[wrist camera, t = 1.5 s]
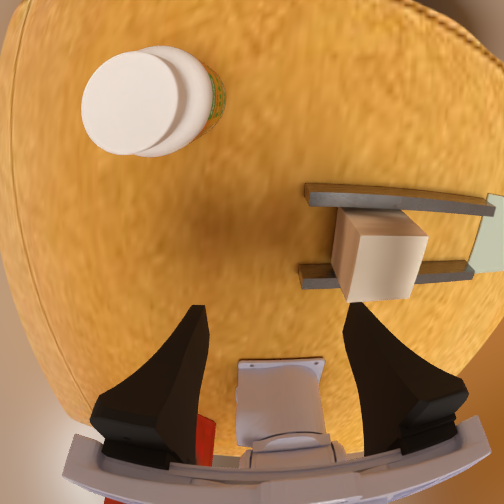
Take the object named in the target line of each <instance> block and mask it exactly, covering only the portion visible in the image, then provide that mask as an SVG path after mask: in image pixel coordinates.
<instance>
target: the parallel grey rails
mask: <svg viewBox="0 0 504 504" xmlns="http://www.w3.org/2000/svg"><path fill="white" fill-rule="evenodd" d="M304 197H305V199H306V201H307V203H308V205H309V206H319V207H357V208H381V209H401V210H417V211H432V212H445V213H457V214H468V215H478V216H488V217H494V214H495V210H496V207H495V206H494V205H492V204H491V203H489V202H488V201H486V200H485V199H483V198H476V197H470V196H463V195H456V194H448V193H440V192H431V191H422V190H412V189H402V188H390V187H377V186H362V185H343V184H318V183H305V195H304ZM474 273H475V270H474V269H473V268H472V267H471V266H470V265H469V264H468V263H467V262H466V261H465V260H462V261H433V262H421V265H420V268H419V271H418V274H417V277H416V280H415V283H414V284H424V283H438V282H450V281H461V280H472V278H473V276H474ZM299 279H300V284H301V288H302V289H330V288H341V287H340V284H339V282H338V279H337V277H336V274H335V272H334V269H333V267H332V264H299Z"/></svg>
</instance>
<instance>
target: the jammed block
mask: <svg viewBox="0 0 504 504" xmlns="http://www.w3.org/2000/svg"><path fill="white" fill-rule="evenodd" d="M428 238H429V236H428V235H427V234H426V233H425V232H424V231H423V230H422V229H421V228H420V227H419V226H418V225H417V224H415V223H414V222H413V221H412V220H411V219H410V218H409V217H408V216H407V215H406V214H405V213H404V212H403V211H401V210H400V209H381V208H357V207H338V212H337V220H336V228H335V236H334V243H333V251H332V257H331V264H332V267H333V269H334V272H335V274H336V277H337V279H338V282H339V284H340V287H341V289H342V292H343V294H344V297H345V300H346V302H347V303H350V302H367V301H381V300H394V299H406V298H409V297H410V294H411V292H412V289H413V286H414V283H415V280H416V277H417V274H418V271H419V268H420V265H421V262H422V259H423V255H424V252H425V248H426V245H427V241H428Z"/></svg>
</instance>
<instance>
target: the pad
mask: <svg viewBox="0 0 504 504" xmlns="http://www.w3.org/2000/svg"><path fill="white" fill-rule="evenodd" d="M486 201H488V202H489V203H491V204H492V205H494V206H495V207H496V210H495V214H494V217H488V216H482V219H481V222H480V226H479V229H478V233H477V236H476V239H475V242H474V245H473V248H472V251H471V254H470V257H469V260H468V262H467V263H468V264H469V265H470V266H471V267H472V268H473V269H474V270H475V273H485V272H497V271H504V196H499V195H494V194H489V193H488V195H487V199H486Z"/></svg>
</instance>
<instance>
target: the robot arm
mask: <svg viewBox="0 0 504 504" xmlns="http://www.w3.org/2000/svg"><path fill="white" fill-rule="evenodd" d="M209 336H210V334H209V328H208V322H207V316H206V309H205V305H192V306H191V307H190V308H189V310H188V312H187V313H186V315H185V316H184V318H183V319H182V321H181V322H180V323H179V325H178V326H177V328H176V329H175V330H174V332H173V333H172V334H171V336H170V337H169V338H168V339H167V341H166V342H165V343H164V344H163V345H162V347H161V348H160V349H159V350H158V351H157V352H156V353H155V354H154V355H153V356H152V357H151V358H150V359H149V360H148V361H147V362H146V363H145V364H144V365H143V366H142V367H141V368H139V369H138V370H137V371H136V372H135V373H133V374H132V375H131V376H129V377H128V378H127V379H125V380H124V381H123V382H121V383H120V384H118V385H117V386H115V387H113V388H112V389H110V390H108V391H106V392H105V393H103V394H101V395H99V397H98V399H97V401H96V403H95V406H94V408H93V411H92V414H91V417H90V423H91V424H92V426H93V427H94V428H95V429H96V430H97V431H98V432H99V433H100V434H101V435H102V436H103V437H104V438H105V441H104V444H102V443H100V442H98V441H96V440H94V439H91V438H88V437H85V436H82V435H79V434H75V435H74V438H73V441H72V444H71V447H70V450H69V453H68V456H67V460H66V463H65V467H64V471H63V474H62V476H63V478H65V479H67V480H69V481H70V482H72V483H74V484H76V485H78V486H80V487H82V488H84V489H86V490H88V491H90V492H93V493H96V494H99V495H102V496H104V497H107V498H110V499H113V500H116V501H119V502H123V503H126V504H388V502H391V501H394V500H397V499H400V498H403V497H406V496H408V495H411V494H414V493H417V492H419V491H421V490H424V489H426V488H429V487H431V486H433V485H436V484H438V483H440V482H442V481H445V480H446V479H449V478H451V477H453V476H455V475H457V474H459V473H461V472H463V471H464V470H466V469H468V468H469V467H471V466H473V465H474V464H476V463H477V462H479V461H480V460H482V459H483V458H485V457H486V456H487V455H489V454H490V453H491V449H490V446H489V443H488V440H487V438H486V435H485V432H484V430H483V427H482V425H481V422H480V420H479V417H478V415H476V416H473V417H471V418H469V419H467V420H464V421H462V422H461V423H459V424H458V425H456V426H455V423H454V420H455V419H456V416H455V412H456V411H457V410H458V409H459V407H461V405H462V404H463V403H464V402H465V401H466V399H467V397H468V395H469V393H468V390H467V388H466V386H465V384H464V382H463V380H462V379H461V378H458V377H456V376H454V375H451V374H449V373H447V372H445V371H443V370H441V369H439V368H437V367H435V366H434V365H432V364H430V363H429V362H427V361H426V360H424V359H423V358H421V357H420V356H418V355H417V354H415V353H414V352H413V351H412V350H410V349H409V348H408V347H406V346H405V345H404V344H403V343H402V342H401V341H400V340H398V339H397V338H396V337H395V336H394V335H393V334H392V333H391V332H390V331H389V330H388V329H387V328H386V327H385V326H384V325H383V324H382V323H381V322H380V321H379V320H378V319H377V318H376V317H375V316H374V315H373V313H372V312H371V311H370V310H369V309H368V308H367V307H366V306H365V305H364V304H363V303H362V302H351V303H350V306H349V310H348V313H347V317H346V321H345V324H344V328H343V338H344V343H345V349H346V352H347V356H348V359H349V362H350V365H351V368H352V372H353V375H354V378H355V381H356V385H357V389H358V393H359V399H360V405H361V413H362V421H363V433H364V457H362V458H356V459H351V460H347V457H346V453H345V450H344V447H343V446H342V445H341V444H340V443H338V441H330V434H326V429H325V422H324V416H323V409H322V403H321V397H320V391H319V385H318V384H319V381H320V378H321V374H322V371H323V368H324V364H325V359H324V358H312V359H294V360H242V361H239V363H238V368H239V369H238V387H236V402H237V411H236V436H237V445H238V446H245V447H252V448H253V450H246V452H245V453H244V454H243V455H242V456H241V459H240V464H239V468H225V467H210V466H199V465H195V461H196V428H197V413H198V402H199V394H200V388H201V384H202V379H203V374H204V370H205V365H206V360H207V355H208V348H209ZM227 484H238V485H236V486H228V485H227Z"/></svg>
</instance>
